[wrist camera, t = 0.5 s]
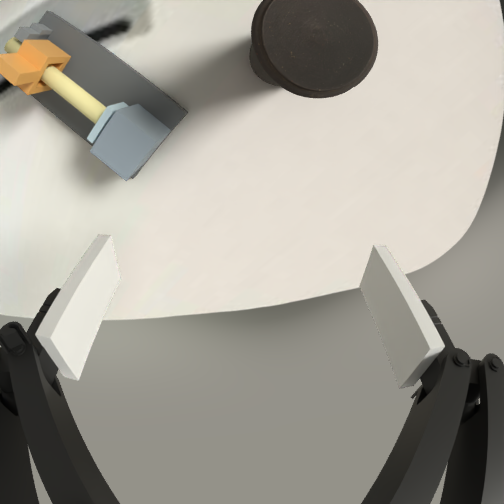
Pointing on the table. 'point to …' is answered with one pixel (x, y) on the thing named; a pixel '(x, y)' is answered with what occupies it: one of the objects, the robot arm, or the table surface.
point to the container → (313, 45)
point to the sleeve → (32, 64)
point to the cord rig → (102, 97)
